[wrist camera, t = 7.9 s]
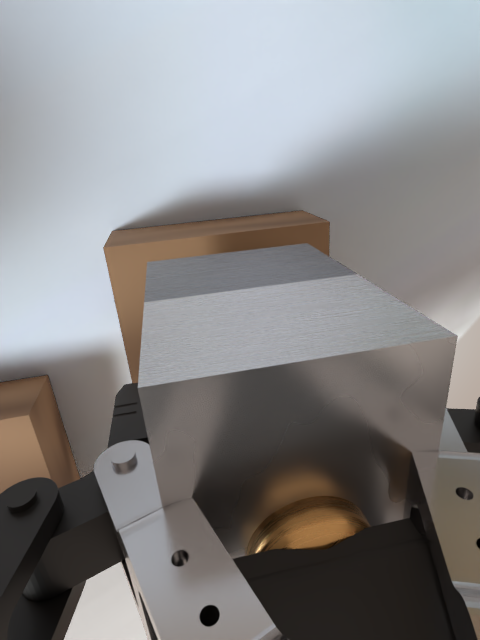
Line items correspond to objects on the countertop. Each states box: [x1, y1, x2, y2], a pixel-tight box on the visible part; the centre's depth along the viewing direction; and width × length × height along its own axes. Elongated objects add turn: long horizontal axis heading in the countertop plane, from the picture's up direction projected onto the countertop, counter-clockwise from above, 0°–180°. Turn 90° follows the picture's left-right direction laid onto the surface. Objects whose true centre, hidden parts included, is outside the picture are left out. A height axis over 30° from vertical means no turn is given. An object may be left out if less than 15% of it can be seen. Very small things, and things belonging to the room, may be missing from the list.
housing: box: [138, 243, 457, 559], centre depth 10 cm, size 8×5×8 cm, turn 4°
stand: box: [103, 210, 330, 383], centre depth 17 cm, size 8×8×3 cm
